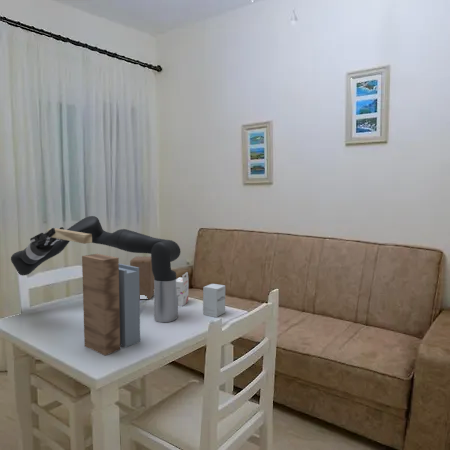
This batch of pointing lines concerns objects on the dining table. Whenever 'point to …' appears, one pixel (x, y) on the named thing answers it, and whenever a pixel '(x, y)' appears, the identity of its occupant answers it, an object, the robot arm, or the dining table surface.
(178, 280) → the ink cartridge box
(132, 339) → the grey post
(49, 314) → the dining table surface
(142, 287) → the wooden block
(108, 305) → the walnut tower
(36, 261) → the robot arm
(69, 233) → the bar
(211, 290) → the supplement box
